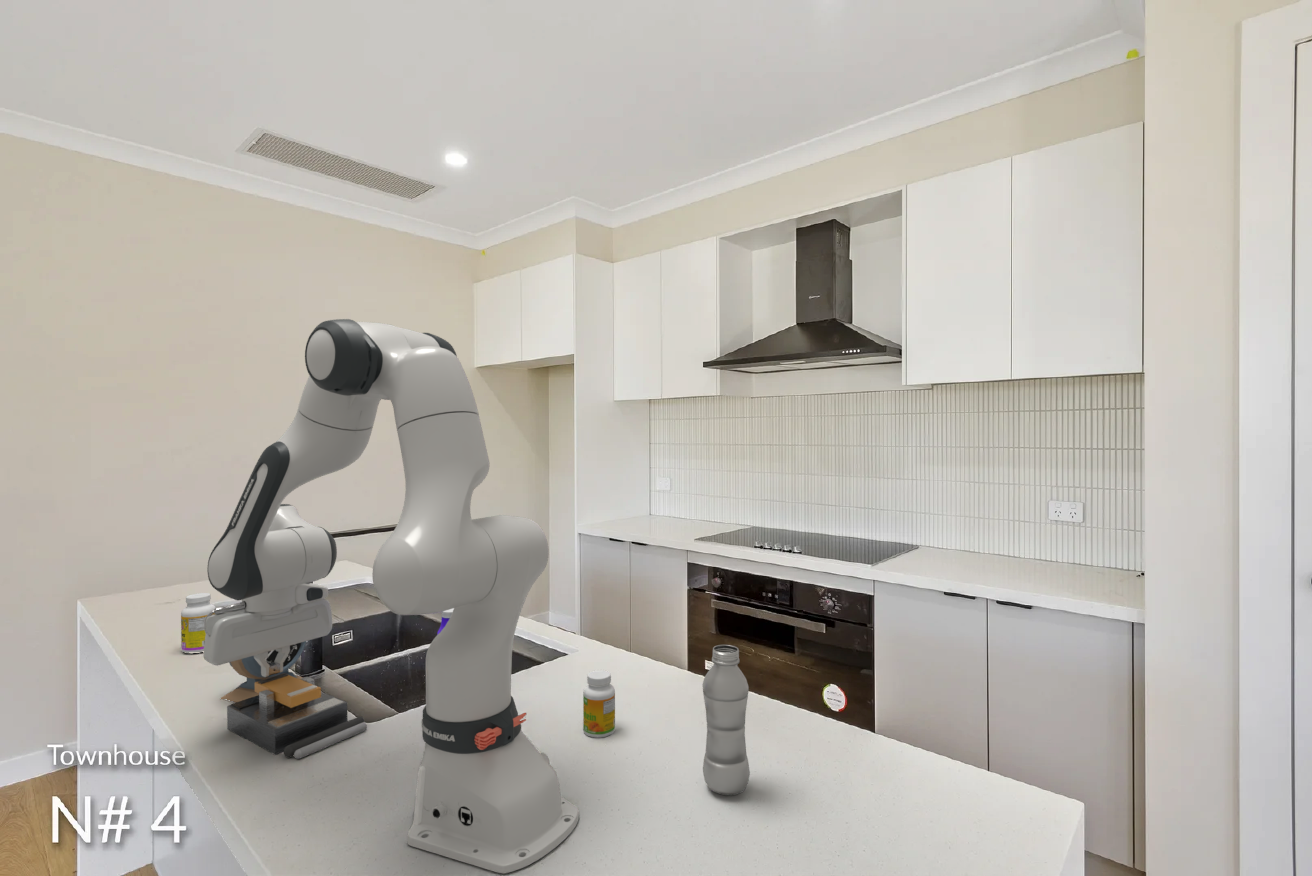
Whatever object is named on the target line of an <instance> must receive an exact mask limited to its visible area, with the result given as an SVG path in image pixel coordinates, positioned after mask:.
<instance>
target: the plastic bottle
mask: <svg viewBox="0 0 1312 876" xmlns="http://www.w3.org/2000/svg"><path fill="white" fill-rule="evenodd" d="M739 657H740V650H739V647H737V646H736V645H731V644H718V645H715V646H713V647H712V657H711V663H712V664H713V665H712V666H711V667H710V668H709V670H708V671H707V673H706V674H705V676H704V678H703V681H702V693H703V694H702V695H703V700H704V701H703V702H704V707H705V715H706V717H705V718H706V719H705V720H706V740H705V741H706V742H705V753H704V757H703V764H702V765H703V766H702V773H703V778H704V782H705V784H706V786H707V787H708V789H709V790H711V791H713V792H714V793H716V794H717V795H718V794H719V795H724V796H735V795H738V794H741V793H743V792H744V790H745V789H746V787H748V785H749V781H750V780H749V779H750V773H751V771H750V764H749V763H750V762H749V758H748V756H747V746H746V713H747V705H748V699H749V690H750V689H749V688H750V687H749V684H748V680H747V678H746V676H745V675H744V673H743V672H742V670H741V669H740V667H739V666H738V664H740V658H739Z"/></svg>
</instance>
